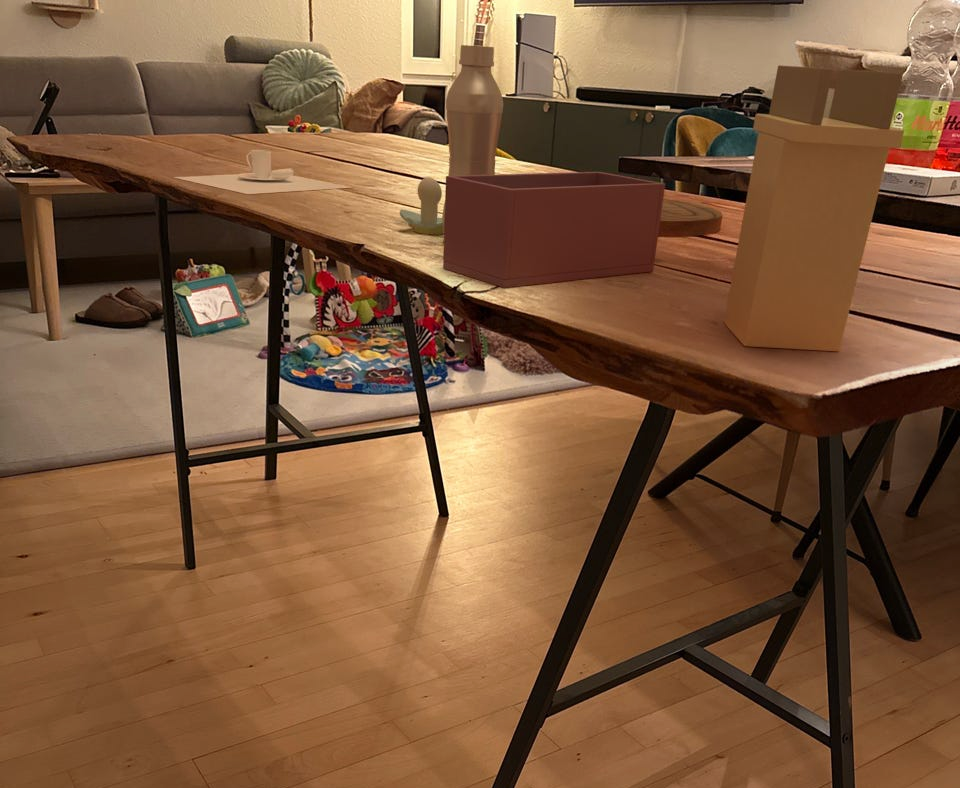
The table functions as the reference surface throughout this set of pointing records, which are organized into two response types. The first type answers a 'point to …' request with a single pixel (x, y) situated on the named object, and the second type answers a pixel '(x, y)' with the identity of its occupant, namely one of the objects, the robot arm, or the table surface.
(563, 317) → the table surface
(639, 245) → the open storage box
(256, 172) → the teacup and saucer
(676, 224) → the trivet
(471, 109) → the plastic bottle
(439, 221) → the pacifier
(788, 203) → the tan trash bin
